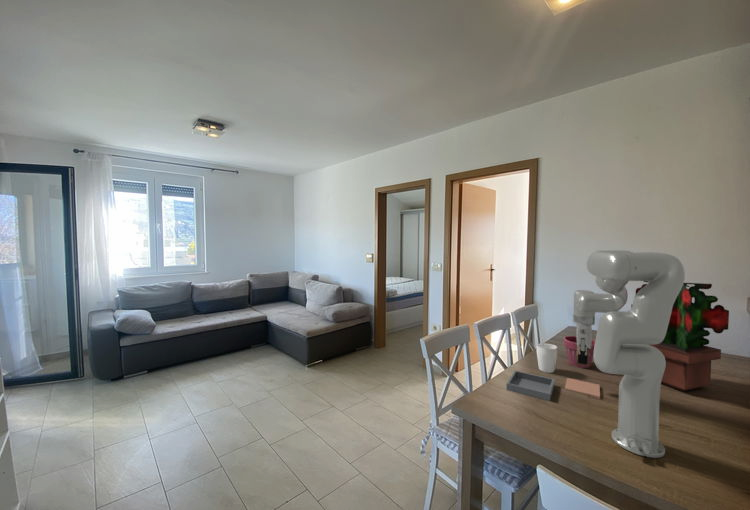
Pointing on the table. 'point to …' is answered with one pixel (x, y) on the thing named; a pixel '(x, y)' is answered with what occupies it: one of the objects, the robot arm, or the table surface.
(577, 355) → the walnut peg
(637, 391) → the robot arm
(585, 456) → the table surface
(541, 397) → the bin
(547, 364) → the cup
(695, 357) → the potted plant
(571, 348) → the plant pot
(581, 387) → the terracotta board
